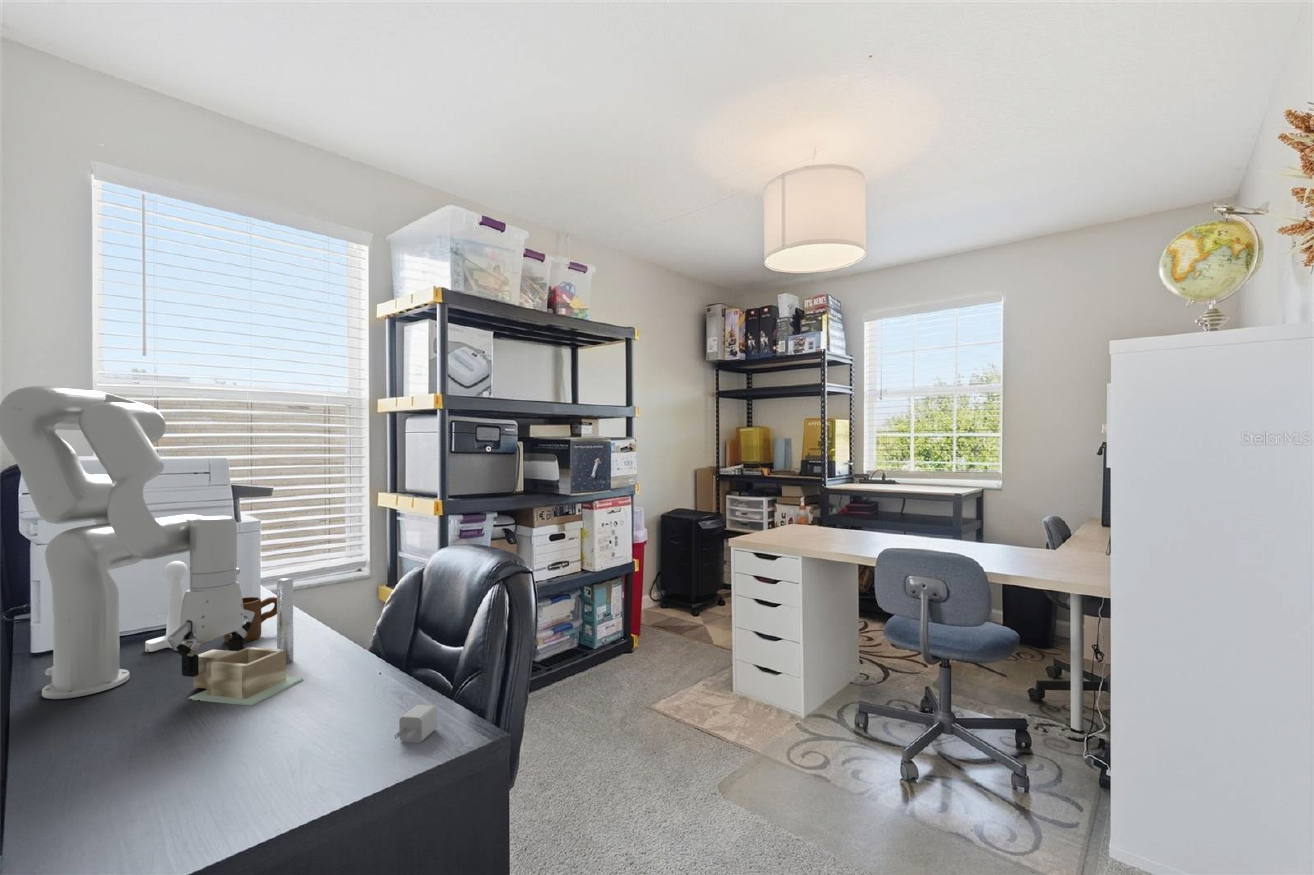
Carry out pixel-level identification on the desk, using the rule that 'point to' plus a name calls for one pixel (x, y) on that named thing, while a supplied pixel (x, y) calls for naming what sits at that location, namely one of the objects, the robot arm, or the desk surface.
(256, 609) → the mug
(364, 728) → the desk surface
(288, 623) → the post
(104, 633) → the robot arm
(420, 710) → the usb wall charger
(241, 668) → the beige wooden open box
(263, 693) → the mat
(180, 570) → the joystick
